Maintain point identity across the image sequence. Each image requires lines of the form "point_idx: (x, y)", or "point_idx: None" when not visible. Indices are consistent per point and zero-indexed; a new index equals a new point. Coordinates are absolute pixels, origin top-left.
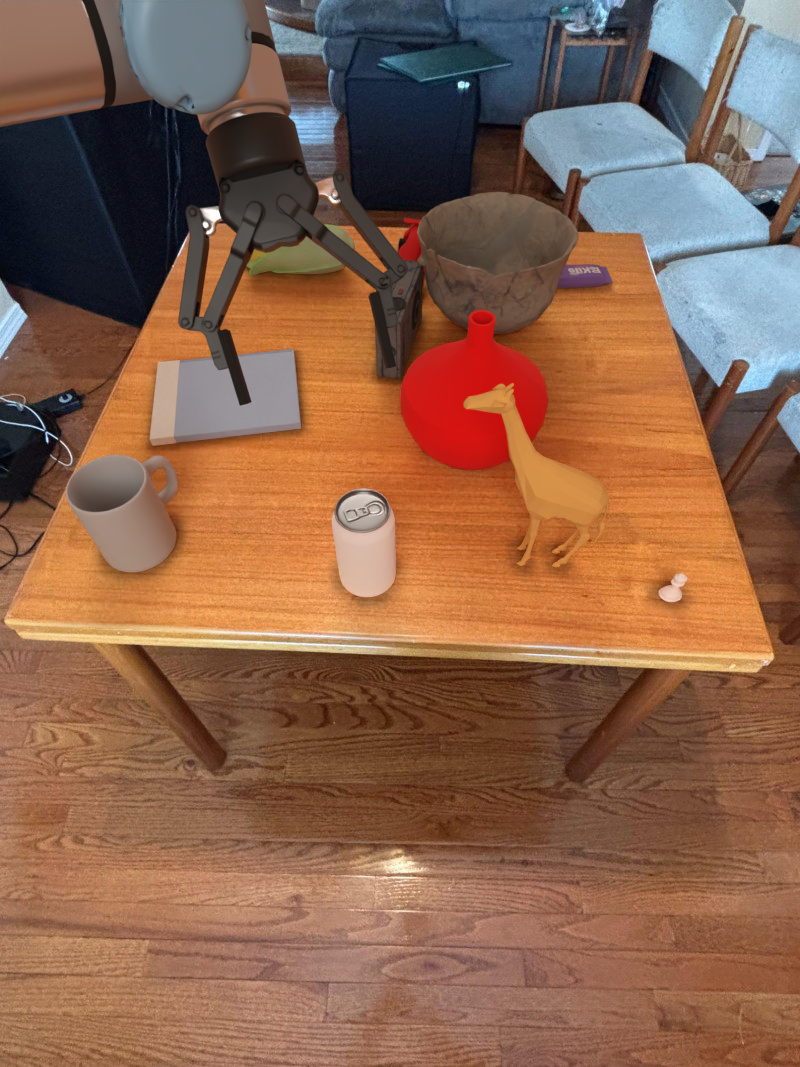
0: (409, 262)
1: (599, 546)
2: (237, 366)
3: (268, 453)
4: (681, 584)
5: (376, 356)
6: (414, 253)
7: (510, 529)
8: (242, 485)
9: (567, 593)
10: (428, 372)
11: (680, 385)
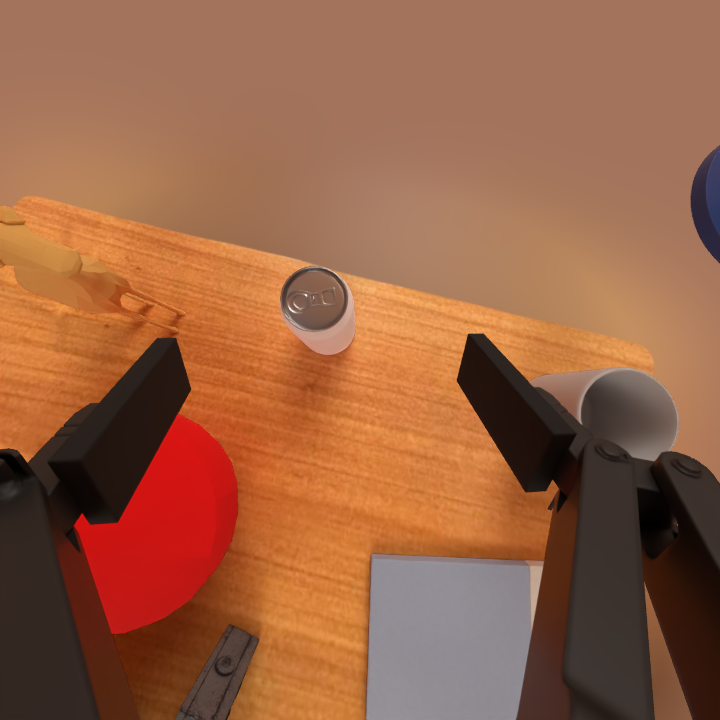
0: None
1: (100, 317)
2: (498, 383)
3: (414, 518)
4: None
5: (247, 666)
6: None
7: None
8: (445, 472)
9: (152, 274)
10: (164, 542)
11: None
